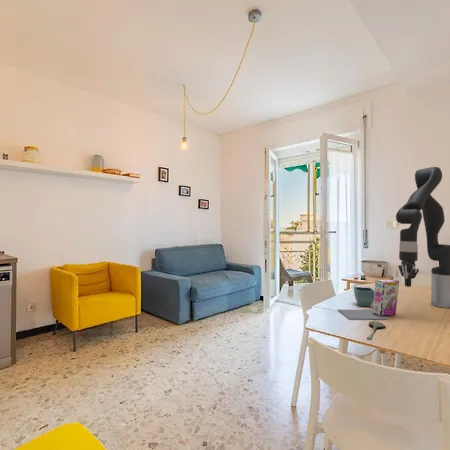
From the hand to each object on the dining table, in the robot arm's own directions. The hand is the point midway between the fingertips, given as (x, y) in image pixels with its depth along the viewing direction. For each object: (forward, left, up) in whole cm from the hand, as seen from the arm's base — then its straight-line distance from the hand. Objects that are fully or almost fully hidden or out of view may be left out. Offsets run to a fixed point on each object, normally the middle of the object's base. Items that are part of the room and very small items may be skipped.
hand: (407, 286), depth 142 cm
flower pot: (+13, -17, -14) cm, 26 cm away
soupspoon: (+27, +21, -15) cm, 37 cm away
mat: (+22, 0, -14) cm, 26 cm away
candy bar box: (+11, 0, -14) cm, 18 cm away
